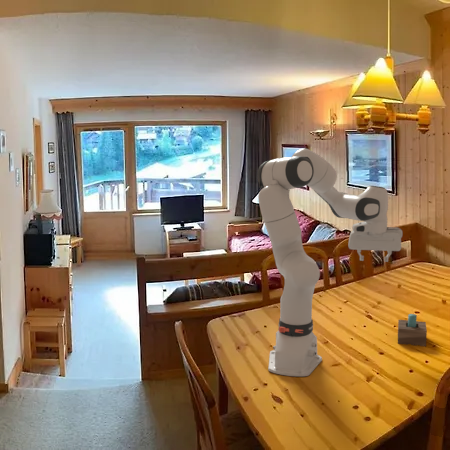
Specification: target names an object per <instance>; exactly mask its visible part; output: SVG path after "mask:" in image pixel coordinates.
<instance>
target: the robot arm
mask: <svg viewBox="0 0 450 450" xmlns="http://www.w3.org/2000/svg"><path fill="white" fill-rule="evenodd" d="M256 174H257V176H256V177H257V181H258V186H259V188H260V191H259V192H258V196H257V197H258V203H259V208H260V213H261V217H262V220H263V223H264V226H265V228H266V231H267V235H268V237H269V242H270V244H271V248H272V253H273V258H274V262H275V266H276V268H277V271H278V272H279V274H281V276H283V278H284V285H283V286H284V287H283V291H282V294H281V296H280V307H279V308H280V310H279V311H280V312H279V313H280V315H279V316H280V318H279V321H278V330H277V331H276V332H275V345H273V347H272V349H273V350H270V351H269V357H268V358H269V359H268V368H267V369H268V371H269V372H270V373H273V374H276V375H281V376H288V377H308V376H310V375H311V374H312V373H313V371H314V370H315V369H316V368H317V367H318V365H319V364H321V362H322V361H323V357H322V356H321V355H319V354H318V336H316V335H315V333H314V331H313V330H314V323H313V319H312V318H313V317H312V314H313V297H314V292H315V287H316V285H317V283H318V282H319V279H320V276H321V271H320V268H319V266H318V264H317V262H316V261H315V260H314V259H313V258H312V257H310V256H309V255H308V254H307V253H306V251H305V249H304V245H303V240H302V229H301V227H300V223H299V220H298V218H297V214H296V211H295V207H294V206H293V203H292V200H291V198H290V190H293V189H300V188H303V187H305V186H307V187H309V188H310V189H311V190H313V191H314V193H316V194H317V195H318V196H319V197H320V198H321V199H322V200H323V201H324V202H325V203H327V205H328V206H329V208H330V210H331V213H333V216H335V217H336V218H340V219H348V220H353V221H359V222H356V223H353V224H352V226H351V227H352V231H350V234H349V237H348V245H347V246H348V249H349V250H354V251H355V250H356V252H357V254H358V256H359V261H362V262H363V261H364V260H365V259H364V258H365V256H364V255H362V254H361V253H362V251H383V252H384V251H385V252H386V251H387V254H386V256H384V257H383V261H384V262H385V263H386V262H387V263H388V262H389V258H390V257H391V255H392V252H400V251H401V249H402V238H403V230H402V229H401V228H400V227H397V226H395V227H394V226H393V227H392V226H388V215H387V214H388V210H389V209H388V208H389V193H388V191H387V188H385V187H382V186H379V185H378V186H376V185H369V186H367V187H366V189H365V190H363V192H361V193H359V194H357V195H356V194H351V193H346V192H342V191H341V192H340V191H339V190H338V189H337V188H335V184H336V182H337V178H338V176H337V175H338V174H337V170H336V168H334V166H333V165H332V164H331V163H330V162H328V161H327V159H325V158H323V157H322V156H321V155H320V154H318V153H316V152H315V151H313V150H311V149H309V148H300V149H297V150H296V151H295V152H294V153H293V154H292V155H291V156H286V157H277V158H273V159H268V160H267V161H264V162H262V164H260V166H258V169H257V173H256Z"/></svg>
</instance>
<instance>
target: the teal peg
mask: <svg viewBox="0 0 450 450" xmlns="http://www.w3.org/2000/svg"><path fill="white" fill-rule="evenodd" d="M407 316H408V317H407V320H408V327H415V328H416V321H417V317H418V316H417V315H416V314H415V313H409V314H408V315H407Z"/></svg>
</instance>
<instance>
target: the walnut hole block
mask: <svg viewBox="0 0 450 450" xmlns="http://www.w3.org/2000/svg"><path fill="white" fill-rule="evenodd" d="M397 322H398V324H397V327H398V328H397V344H401V345H408V344H411V346H417V345H420V346H419V347H426V346H427V335H428V334H427V331H428V330H427V323H426V321H419V320H416V328H415V327H408V319H407V320H406V319H398V321H397Z"/></svg>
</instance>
